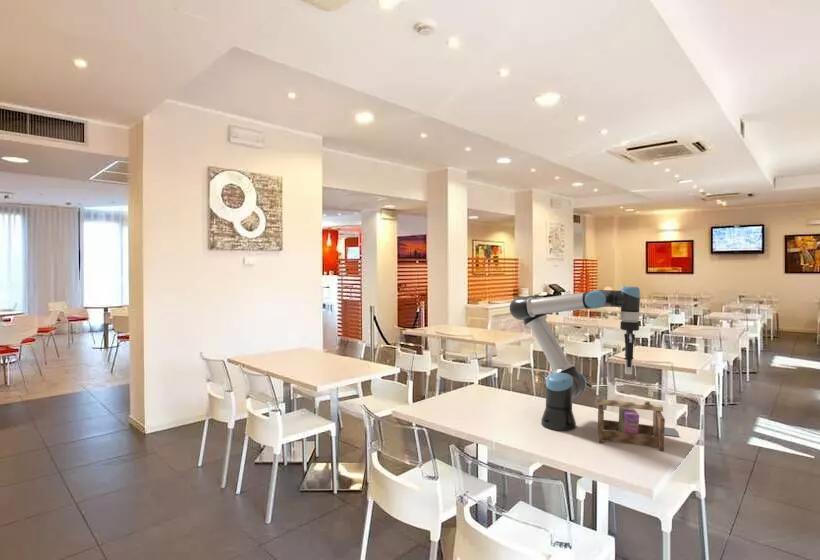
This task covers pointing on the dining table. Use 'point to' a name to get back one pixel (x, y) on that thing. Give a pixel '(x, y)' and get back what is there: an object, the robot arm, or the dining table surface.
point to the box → (628, 420)
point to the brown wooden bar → (630, 405)
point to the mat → (670, 432)
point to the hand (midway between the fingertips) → (628, 373)
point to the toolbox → (629, 438)
